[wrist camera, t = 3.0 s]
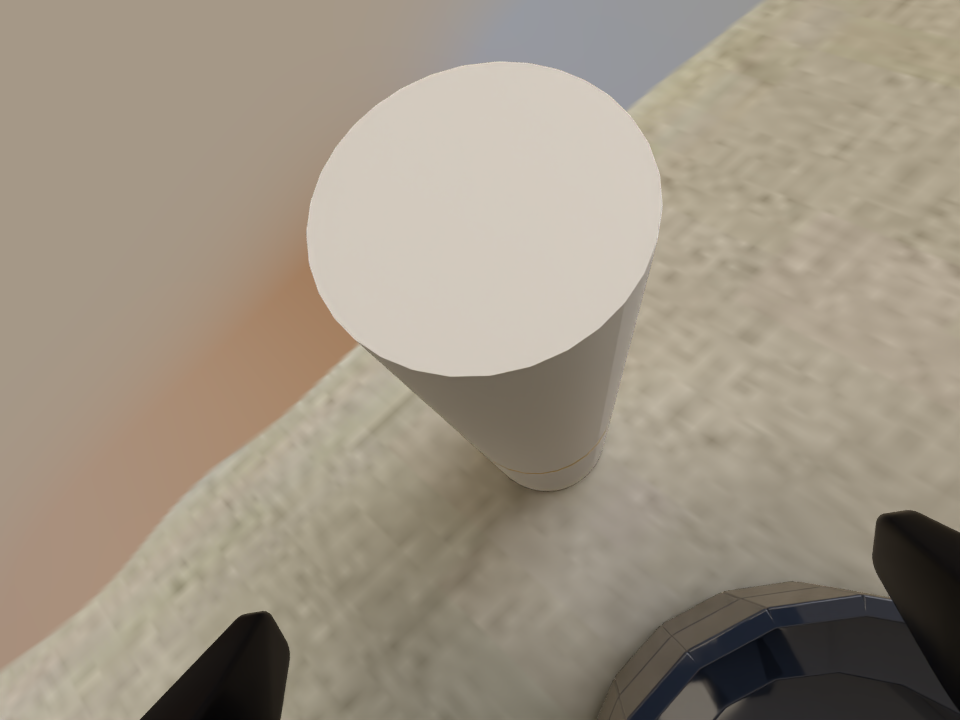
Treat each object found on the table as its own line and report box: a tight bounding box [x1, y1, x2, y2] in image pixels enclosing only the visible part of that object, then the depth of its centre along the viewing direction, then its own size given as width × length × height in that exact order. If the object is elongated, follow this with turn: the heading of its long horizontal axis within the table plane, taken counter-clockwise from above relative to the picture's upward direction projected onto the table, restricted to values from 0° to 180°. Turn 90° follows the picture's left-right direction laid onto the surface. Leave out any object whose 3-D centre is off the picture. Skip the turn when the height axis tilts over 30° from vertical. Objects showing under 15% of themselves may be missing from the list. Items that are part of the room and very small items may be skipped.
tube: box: [306, 62, 663, 491], centre depth 14 cm, size 4×4×15 cm
